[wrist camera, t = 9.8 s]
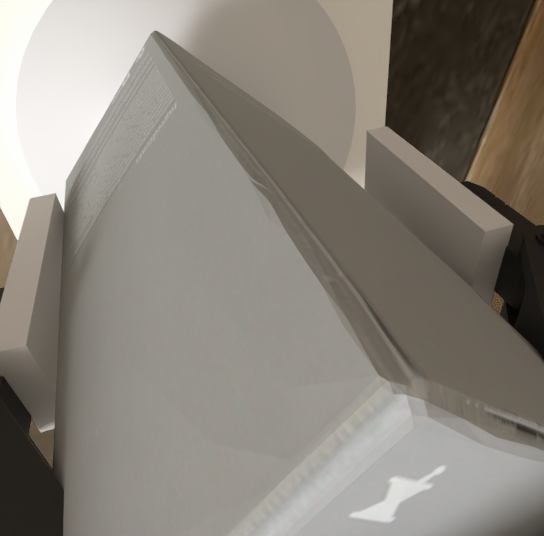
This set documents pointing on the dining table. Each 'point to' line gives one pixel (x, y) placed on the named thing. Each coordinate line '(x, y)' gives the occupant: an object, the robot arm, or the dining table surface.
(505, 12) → the dining table surface
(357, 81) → the scale
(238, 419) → the skincare box
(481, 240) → the robot arm
